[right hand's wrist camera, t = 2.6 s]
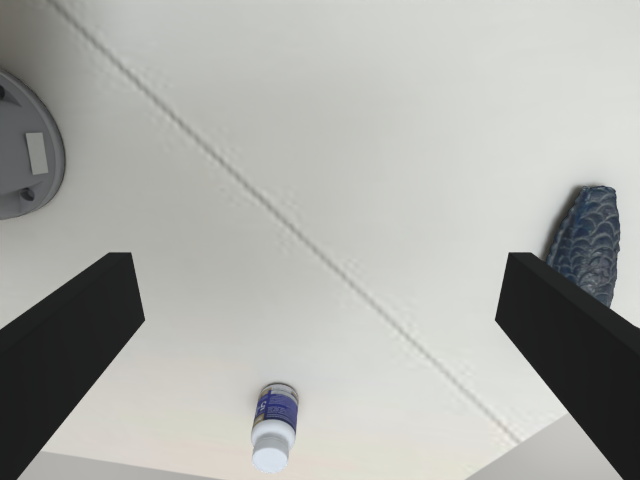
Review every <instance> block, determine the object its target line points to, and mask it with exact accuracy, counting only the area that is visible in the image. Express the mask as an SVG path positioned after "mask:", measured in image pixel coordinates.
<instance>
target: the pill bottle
mask: <svg viewBox="0 0 640 480" xmlns="http://www.w3.org/2000/svg"><path fill="white" fill-rule="evenodd" d="M297 411H298V396H297V394H296V393H295V391H294V390H293V389H291V388H290V387H288V386H285V385H281V384H275V385H270V386H268V387H266V388H265V389H263V391H262V392H261V393H260V395H259V399H258V404H257V409H256V414H255V418H254V423H253V428H252V432H251V442H252V445H253V446H254V449H253V456H252V462H253V465H254V466H255V467H256V468H257V469H258V470H260V471H262V472H265V473H276V472H279V471H281V470H283V469H284V468H285V467H286V465H287V463H288V456H289V450H290V449H291V448H292V447H293V445H294V443H295V437H296V424H297Z"/></svg>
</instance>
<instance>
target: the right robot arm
mask: <svg viewBox="0 0 640 480" xmlns="http://www.w3.org/2000/svg"><path fill="white" fill-rule="evenodd" d="M64 166H65V158H64V149H63V144H62V140H61V137H60V134H59V131H58V129H57V126H56V124H55V122H54V120H53V118H52V117H51V115H50V113H49V112H48V110H47V109H46V107H45V106H44V104H43V103H42V102H41V101H40V100H39V98H38V97H37V96H36V95H35V94H34V93H33V92H32V91H31V90H30V89H29V88H28V87H27V86H26V85H25V84H24V83H22V82H21V81H20V80H18V79H17V78H16V77H14V76H13V75H11V74H10V73H8V72H6V71H5V70H3V69H1V68H0V220H4V219H9V218H15V217H18V216H22V215H24V214H27V213H30V212H32V211H35V210H37V209H39V208H41V207H42V206H44V205H45V204H46V203H47V202H49V201H50V200H51V198H52V197H53V196H54V195H55V193H56V192H57V190H58V188H59V186H60V184H61V181H62V178H63V174H64ZM144 321H145V317H144V312H143V307H142V303H141V298H140V293H139V288H138V283H137V278H136V273H135V269H134V264H133V259H132V254H131V252H109V253H108V254H106V255H105V256H104V257H102V258H101V259H99V260H98V261H96V262H95V263H94V264H92V265H91V266H89V267H88V268H87V269H85V270H84V271H82V272H81V273H80V274H78V275H77V276H75V277H74V278H72V279H71V280H70V281H68V282H67V283H65V284H64V285H63V286H61V287H60V288H58V289H57V290H56V291H54V292H53V293H51V294H50V295H48V296H47V297H46V298H44V299H43V300H41V301H40V302H39V303H37V304H36V305H34V306H33V307H32V308H30V309H29V310H27V311H26V312H25V313H23V314H22V315H20V316H19V317H17V318H16V319H15V320H13V321H12V322H10V323H9V324H8V325H6V326H5V327H3V328H2V329H1V330H0V480H17V479H18V477H19V476H20V475H21V474H22V472H23V471H24V470H25V469H26V467H27V466H28V465H29V464H30V462H31V461H32V460H33V459H34V458H35V456H36V455H37V454H38V453H39V451H40V450H41V449H42V448H43V446H44V445H45V444H46V443H47V441H48V440H49V439H50V438H51V436H52V435H53V434H54V433H55V431H56V430H57V429H58V428H59V426H60V425H61V424H62V423H63V422H64V420H65V419H66V418H67V417H68V415H69V414H70V413H71V412H72V410H73V409H74V408H75V407H76V405H77V404H78V403H79V402H80V400H81V399H82V398H83V397H84V395H85V394H86V393H87V392H88V390H89V389H90V388H91V387H92V386H93V384H94V383H95V382H96V381H97V379H98V378H99V377H100V376H101V374H102V373H103V372H104V371H105V369H106V368H107V367H108V366H109V364H110V363H111V362H112V361H113V359H114V358H115V357H116V356H117V354H118V353H119V352H120V351H121V349H122V348H123V347H124V346H125V345H126V343H127V342H128V341H129V340H130V338H131V337H132V336H133V335H134V333H135V332H136V331H137V330H138V328H139V327H140V326H141V325H142V323H143V322H144ZM495 321H496V322H497V323H498V325H499V326H500V327H501V328H502V330H503V331H504V332H505V333H506V335H507V336H508V337H509V338H510V340H511V341H512V342H513V343H514V345H515V346H516V347H517V348H518V349H519V351H520V352H521V353H522V354H523V356H524V357H525V358H526V359H527V361H528V362H529V363H530V364H531V366H532V367H533V368H534V369H535V371H536V372H537V373H538V374H539V376H540V377H541V378H542V379H543V381H544V382H545V383H546V384H547V386H548V387H549V388H550V389H551V390H552V392H553V393H554V394H555V395H556V397H557V398H558V399H559V400H560V402H561V403H562V404H563V405H564V407H565V408H566V409H567V410H568V412H569V413H570V414H571V415H572V417H573V418H574V419H575V420H576V422H577V423H578V424H579V425H580V426H581V428H582V429H583V430H584V431H585V433H586V434H587V435H588V436H589V438H590V439H591V440H592V441H593V443H594V444H595V445H596V446H597V448H598V449H599V450H600V451H601V453H602V454H603V455H604V456H605V457H606V459H607V460H608V461H609V462H610V464H611V465H612V466H613V467H614V469H615V470H616V471H617V472H618V474H619V475H620V476H621V477H622V479H623V480H640V328H638V327H636V326H634V325H632V324H631V323H630V322H628V321H627V320H625V319H624V318H623V317H621V316H620V315H618V314H617V313H615V312H614V311H613V310H611V309H610V308H608V307H607V306H606V305H604V304H603V303H601V302H600V301H599V300H597V299H596V298H594V297H593V296H592V295H590V294H589V293H587V292H586V291H584V290H583V289H582V288H580V287H579V286H577V285H576V284H575V283H573V282H572V281H570V280H569V279H568V278H566V277H565V276H563V275H562V274H560V273H559V272H558V271H556V270H555V269H553V268H552V267H551V266H549V265H548V264H546V263H545V262H544V261H542V260H541V259H539V258H538V257H536V256H535V255H534V254H532V253H531V252H509V254H508V259H507V264H506V269H505V273H504V278H503V283H502V288H501V293H500V298H499V303H498V307H497V312H496V317H495Z"/></svg>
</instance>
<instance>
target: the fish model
mask: <svg viewBox="0 0 640 480" xmlns="http://www.w3.org/2000/svg"><path fill="white" fill-rule="evenodd" d="M615 192H616V191H615V190H614V189H613V188H611V187H605V186H597V187H593V188H590V187H586V186H583V188H582V190H581V191H580V195H579V196H578V198H576V199H575V204H574V206H573V207H572V208H571V209H570V210H569V211H568V216H567V217H566V218H565V219H564V220H563V222H562V223H561V225H560V229H559V230H558V231H557V233H556V235H555V237H554V243H553V244H552V246H551V248H550V254H549V255H548V257H547V261H546V264H548V265H549V266H551V267H552V268H553V269H555V270H556V271H558V272H559V273H560V274H562V275H563V276H565V277H566V278H568V279H569V280H570V281H572V282H573V283H575V284H576V285H577V286H579V287H580V288H582V289H583V290H584V291H586V292H587V293H589V294H590V295H592V296H593V297H594V298H596V299H597V300H599V301H600V302H601V303H603V304H604V305H606V306H607V307H608V308H610V305H611V302H612V299H613V295H614V294H613V290H614V287H615V281H616V279H617V268H616V267H617V254H618V252H619V251H620V247H619V241H620V223H619V213H618V210H617V205H616V198H617V197H616V194H615Z"/></svg>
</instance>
